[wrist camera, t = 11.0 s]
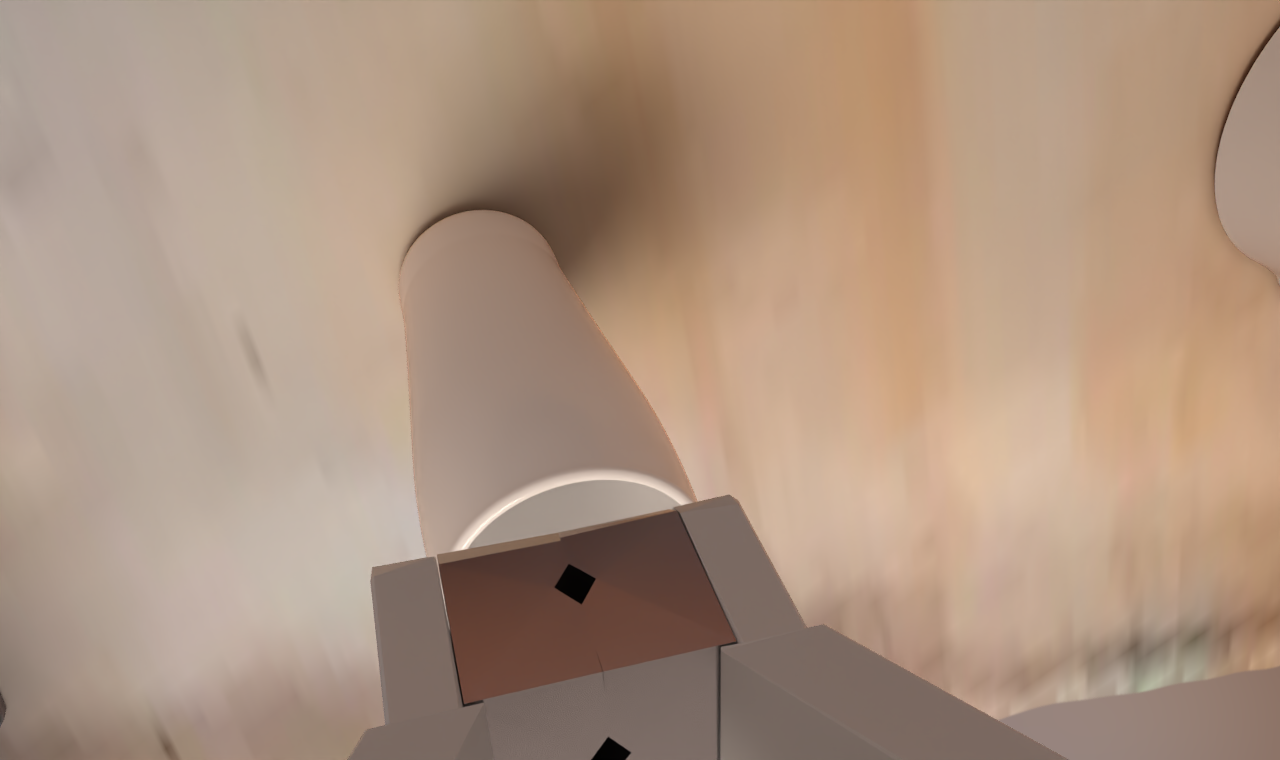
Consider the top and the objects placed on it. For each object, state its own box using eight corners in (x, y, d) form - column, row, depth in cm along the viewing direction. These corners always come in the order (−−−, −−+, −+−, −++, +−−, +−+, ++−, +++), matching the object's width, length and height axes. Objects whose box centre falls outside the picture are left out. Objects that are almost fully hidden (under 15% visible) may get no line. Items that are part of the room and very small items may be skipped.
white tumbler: (456, 142, 36) (563, 422, 24) (613, 249, 40) (771, 536, 28) (332, 300, 38) (376, 630, 26) (492, 388, 42) (594, 712, 30)
